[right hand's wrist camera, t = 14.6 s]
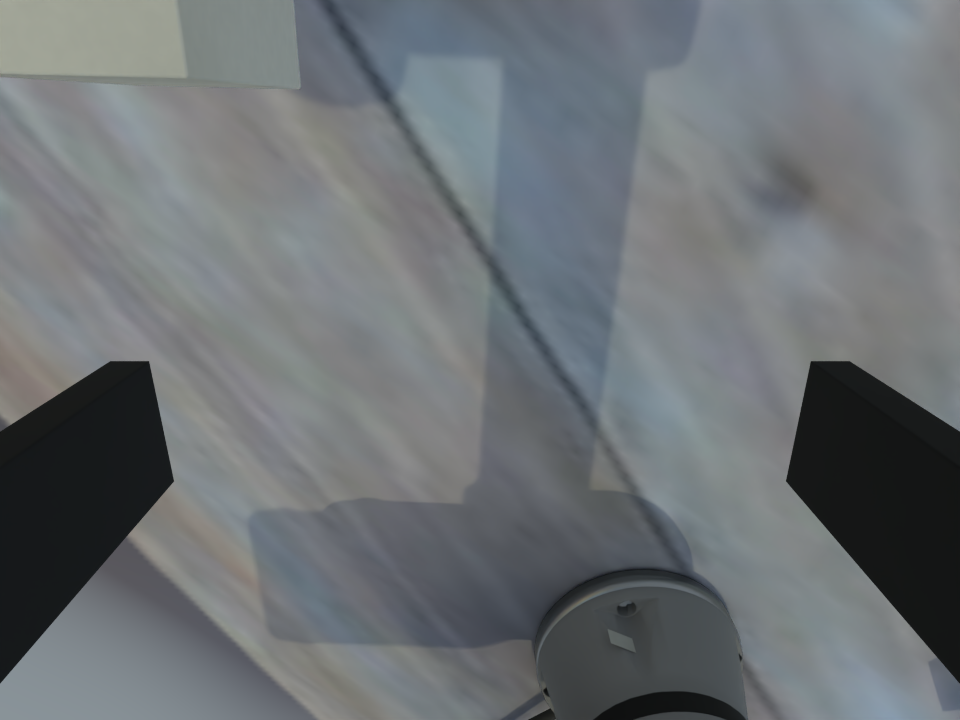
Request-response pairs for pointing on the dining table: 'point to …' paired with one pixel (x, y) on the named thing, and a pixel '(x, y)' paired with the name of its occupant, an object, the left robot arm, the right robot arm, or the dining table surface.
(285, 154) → the dining table surface
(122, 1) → the beam
